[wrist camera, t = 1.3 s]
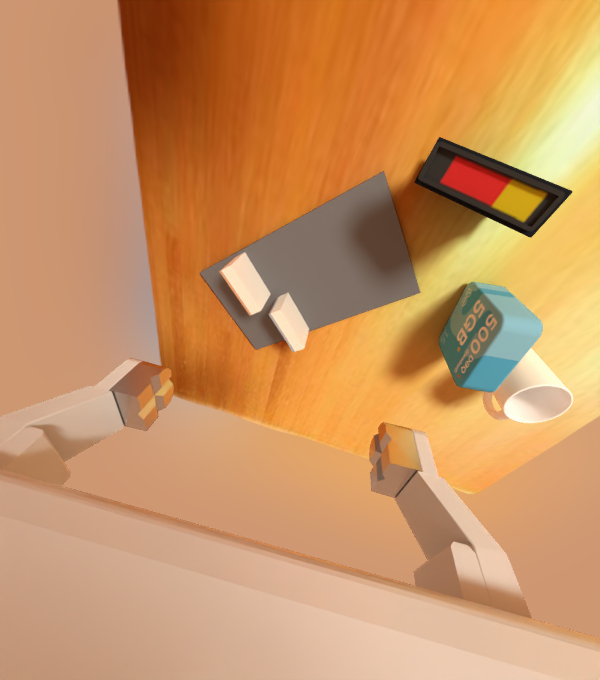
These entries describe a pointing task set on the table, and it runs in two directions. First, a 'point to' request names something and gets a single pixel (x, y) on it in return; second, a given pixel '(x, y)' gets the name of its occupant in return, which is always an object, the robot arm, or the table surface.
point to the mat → (326, 263)
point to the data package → (487, 336)
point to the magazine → (491, 187)
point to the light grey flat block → (289, 322)
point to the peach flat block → (246, 283)
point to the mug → (529, 393)
